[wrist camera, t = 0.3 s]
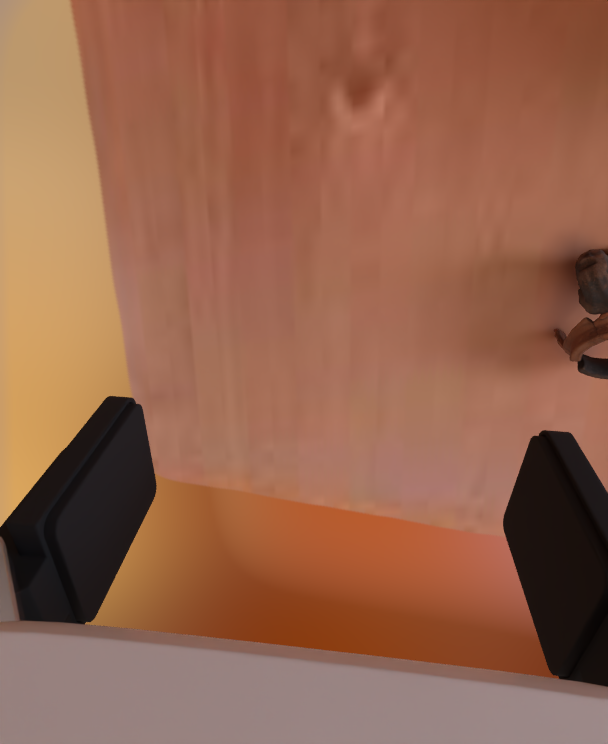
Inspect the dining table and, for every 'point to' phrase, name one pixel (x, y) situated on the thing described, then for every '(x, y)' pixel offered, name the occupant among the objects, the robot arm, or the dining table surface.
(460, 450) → the dining table surface
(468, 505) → the dining table surface
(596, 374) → the pottery mug
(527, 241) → the dining table surface
